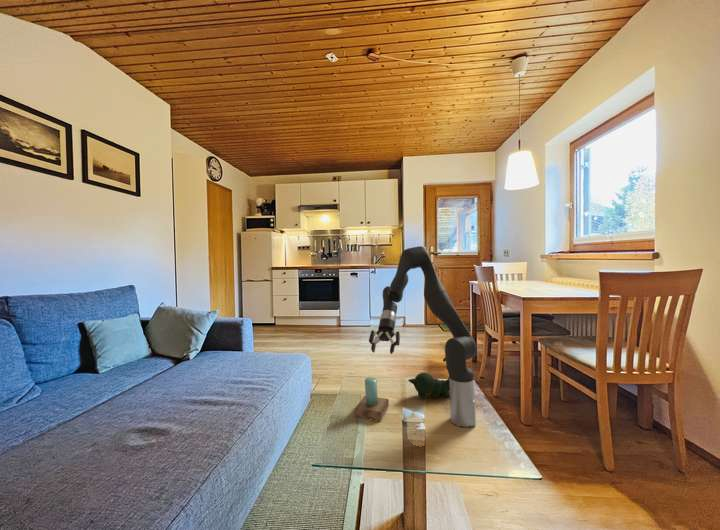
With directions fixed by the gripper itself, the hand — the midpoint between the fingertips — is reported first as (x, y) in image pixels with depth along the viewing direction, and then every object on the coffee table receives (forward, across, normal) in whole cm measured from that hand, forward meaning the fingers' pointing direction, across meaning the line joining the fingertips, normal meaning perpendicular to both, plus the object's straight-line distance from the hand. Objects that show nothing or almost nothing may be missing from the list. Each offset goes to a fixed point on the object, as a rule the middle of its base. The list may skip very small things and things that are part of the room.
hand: (381, 352), depth 140 cm
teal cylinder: (+21, -2, +4) cm, 22 cm away
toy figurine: (+9, +22, +22) cm, 32 cm away
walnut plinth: (+24, -2, +6) cm, 25 cm away
